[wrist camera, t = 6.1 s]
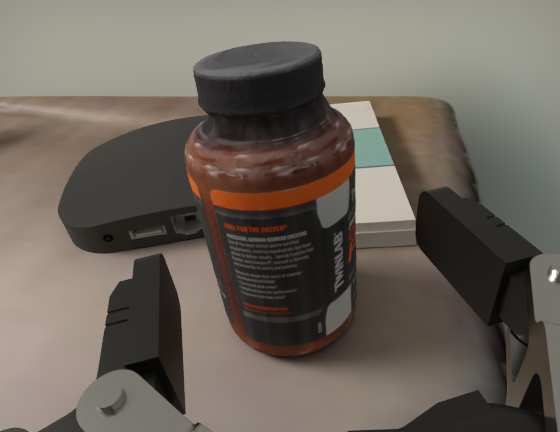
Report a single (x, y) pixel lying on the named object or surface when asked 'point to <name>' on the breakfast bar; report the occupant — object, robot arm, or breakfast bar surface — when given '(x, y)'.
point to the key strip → (377, 184)
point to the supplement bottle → (276, 195)
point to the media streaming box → (133, 191)
